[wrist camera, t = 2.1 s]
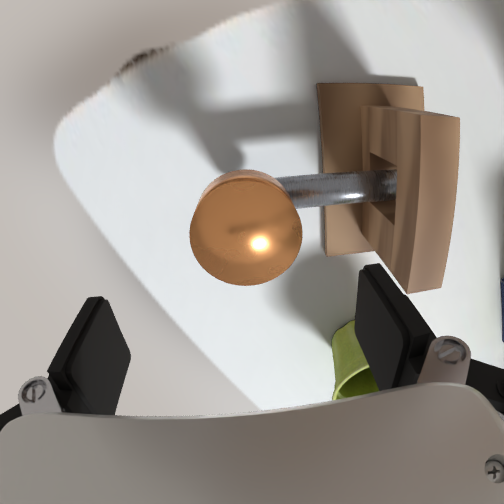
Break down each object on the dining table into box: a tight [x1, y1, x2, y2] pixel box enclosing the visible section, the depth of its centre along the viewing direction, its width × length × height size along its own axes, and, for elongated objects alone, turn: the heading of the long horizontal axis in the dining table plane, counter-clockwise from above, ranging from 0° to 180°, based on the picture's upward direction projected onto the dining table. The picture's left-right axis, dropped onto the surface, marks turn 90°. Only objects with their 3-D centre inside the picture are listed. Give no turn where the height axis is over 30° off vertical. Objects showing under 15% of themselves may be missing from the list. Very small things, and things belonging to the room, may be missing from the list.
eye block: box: [317, 83, 460, 294], centre depth 23 cm, size 10×16×11 cm, turn 6°
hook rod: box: [190, 169, 397, 286], centre depth 21 cm, size 19×6×10 cm, turn 96°
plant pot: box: [332, 320, 379, 400], centre depth 33 cm, size 9×9×9 cm
